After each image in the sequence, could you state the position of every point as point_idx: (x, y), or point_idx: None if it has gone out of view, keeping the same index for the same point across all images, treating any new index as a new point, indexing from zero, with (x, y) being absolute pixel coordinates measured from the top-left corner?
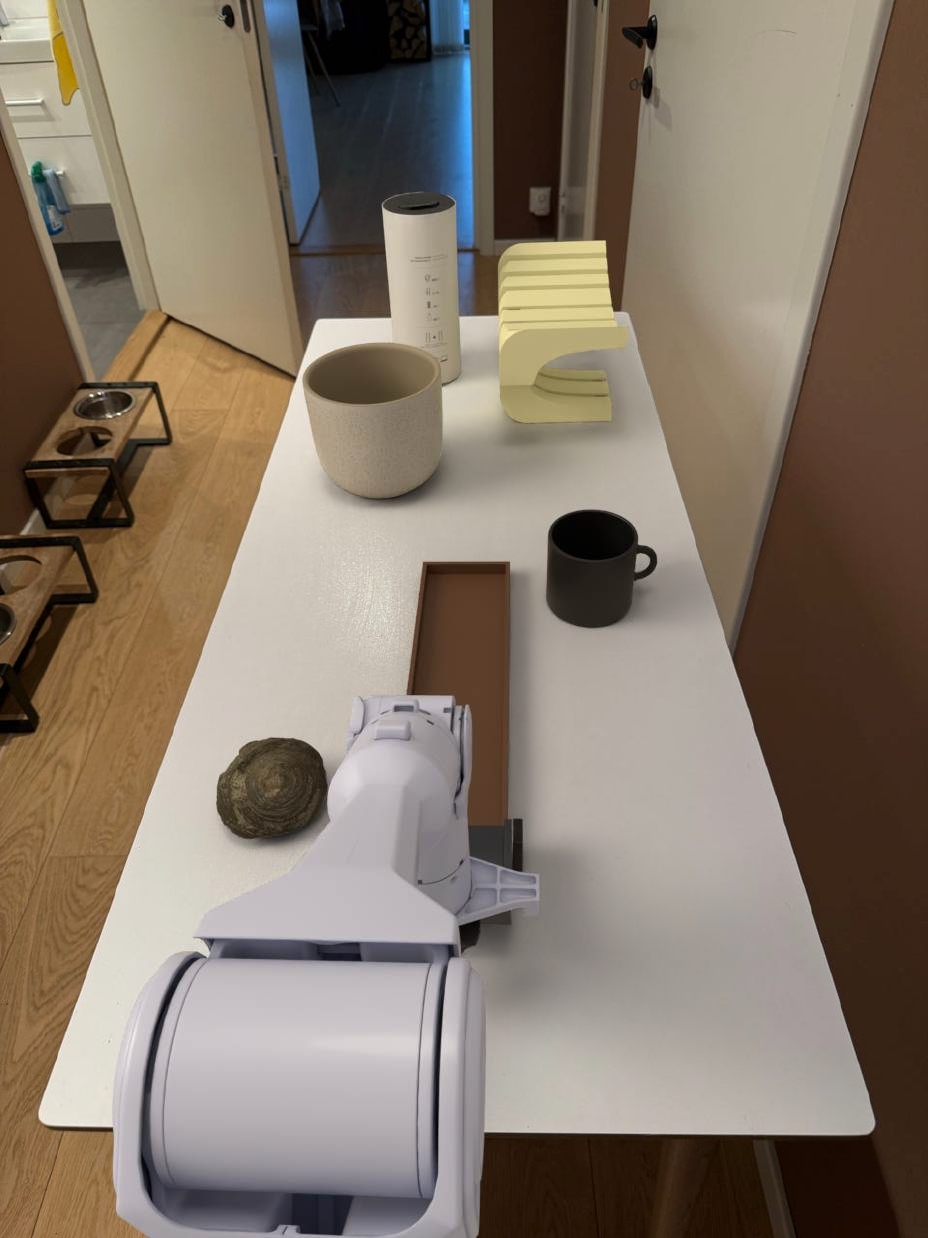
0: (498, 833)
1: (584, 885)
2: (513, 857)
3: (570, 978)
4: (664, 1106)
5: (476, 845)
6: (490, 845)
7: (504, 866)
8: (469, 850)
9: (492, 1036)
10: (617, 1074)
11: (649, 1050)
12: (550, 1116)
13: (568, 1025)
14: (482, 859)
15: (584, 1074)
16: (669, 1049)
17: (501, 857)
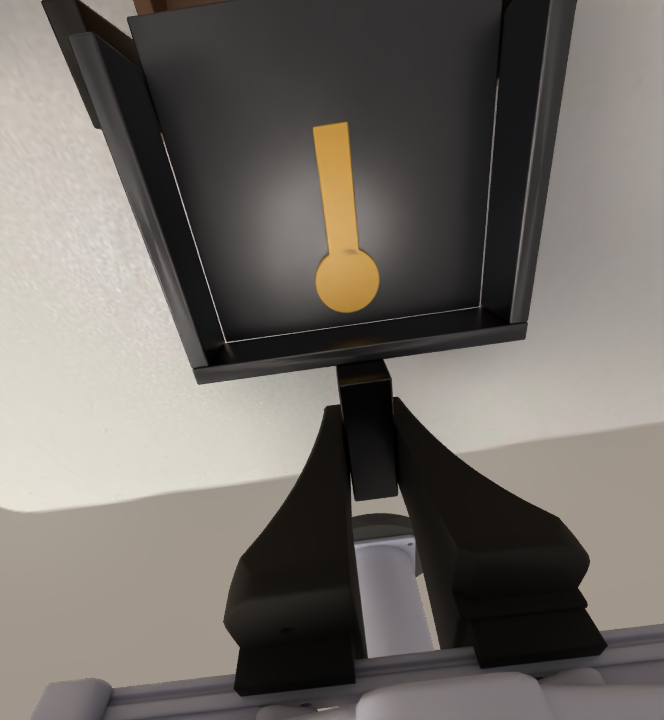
0: (484, 3)
1: (615, 107)
2: (498, 78)
3: (534, 305)
4: (597, 419)
5: (416, 77)
6: (458, 70)
7: (526, 211)
8: (397, 104)
9: (422, 390)
10: (559, 401)
11: (605, 374)
12: (479, 443)
13: (516, 364)
14: (435, 136)
15: (522, 407)
16: (630, 369)
17: (487, 118)
